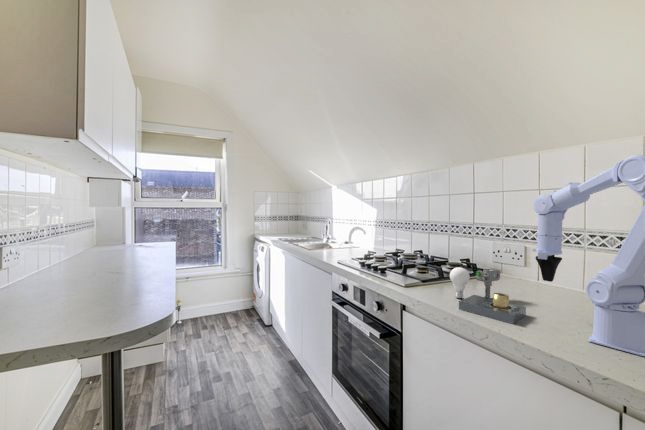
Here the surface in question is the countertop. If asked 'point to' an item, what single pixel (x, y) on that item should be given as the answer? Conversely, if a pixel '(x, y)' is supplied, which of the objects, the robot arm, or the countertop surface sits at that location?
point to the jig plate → (492, 309)
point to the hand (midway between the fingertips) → (547, 280)
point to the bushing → (500, 300)
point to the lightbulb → (459, 280)
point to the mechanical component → (488, 278)
